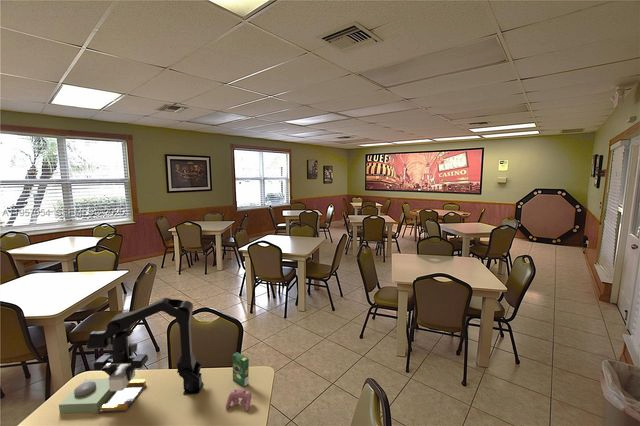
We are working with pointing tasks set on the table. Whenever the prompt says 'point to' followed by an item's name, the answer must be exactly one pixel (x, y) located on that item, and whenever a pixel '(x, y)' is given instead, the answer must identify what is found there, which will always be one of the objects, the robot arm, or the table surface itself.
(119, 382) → the chute block
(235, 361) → the coffee box
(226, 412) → the table surface
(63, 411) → the green slab
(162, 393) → the table surface
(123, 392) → the white yellow tray
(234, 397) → the video game controller
